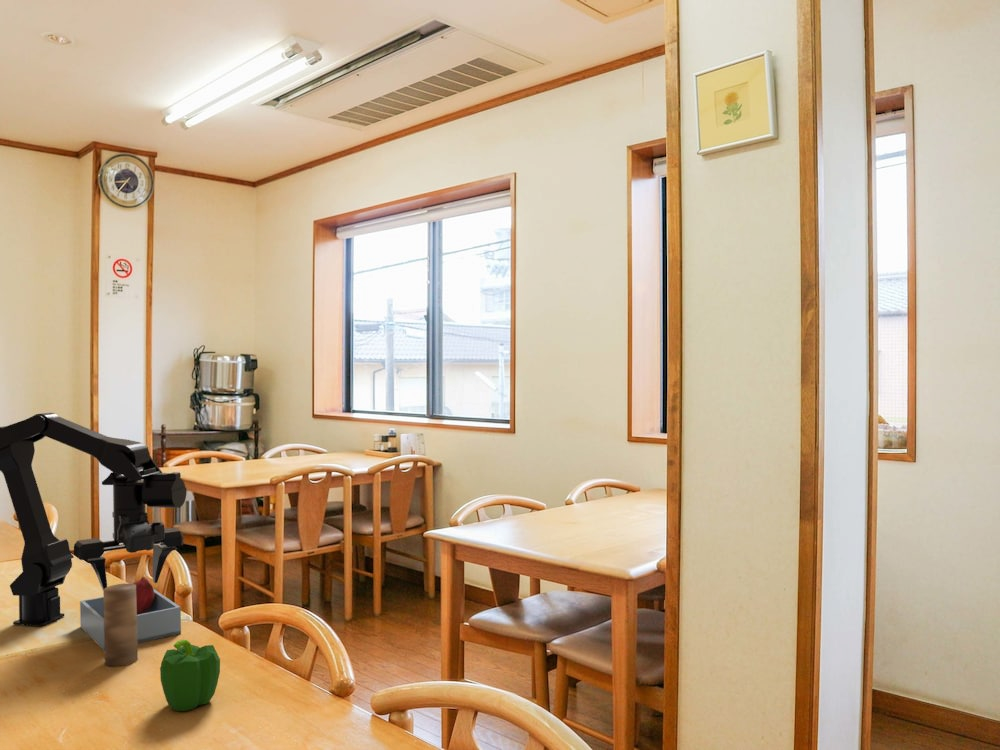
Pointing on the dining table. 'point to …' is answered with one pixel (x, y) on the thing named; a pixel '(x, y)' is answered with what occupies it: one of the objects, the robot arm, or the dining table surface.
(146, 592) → the onion
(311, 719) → the dining table surface
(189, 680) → the bell pepper
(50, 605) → the robot arm
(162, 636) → the tote
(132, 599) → the canister
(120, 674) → the dining table surface
